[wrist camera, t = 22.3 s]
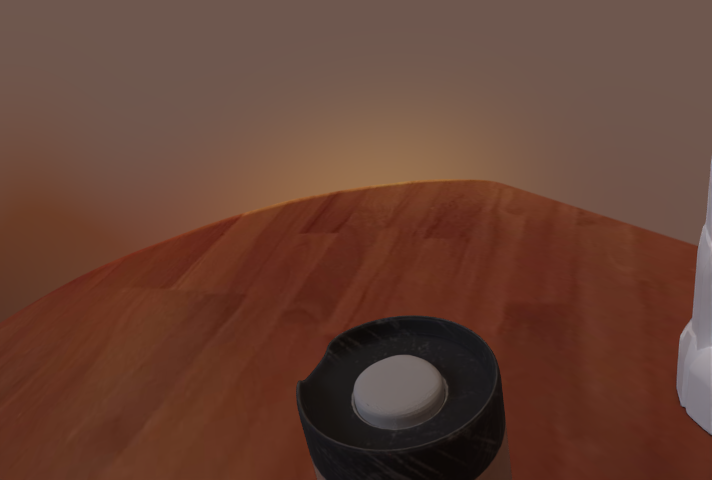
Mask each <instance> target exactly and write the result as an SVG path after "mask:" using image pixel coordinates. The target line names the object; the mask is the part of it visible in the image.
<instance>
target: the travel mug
mask: <svg viewBox="0 0 712 480" xmlns="http://www.w3.org/2000/svg"><path fill="white" fill-rule="evenodd" d="M296 397H297V406H298V411H299V415H300V419H301V423H302V427H303V430H304V434H305V437H306V441H307V444H308V448H309V452H310V455H311V458H312V462H313V466H314V469H315V473H316V477H317V480H512V475H511V466H510V457H509V448H508V439H507V429H506V420H505V411H504V402H503V393H502V383H501V375H500V370H499V366H498V363H497V360H496V358H495V355H494V353H493V351H492V350H491V349H490V347H489V346H488V344H487V343H486V342H485V341H484V340H483V339H482V338H481V337H480V336H479V335H477V334H476V333H474V332H473V331H472V330H470V329H468V328H466V327H464V326H462V325H460V324H457V323H455V322H452V321H449V320H445V319H441V318H436V317H429V316H396V317H389V318H383V319H379V320H375V321H371V322H367V323H364V324H362V325H359V326H356V327H354V328H351V329H349V330H347V331H345V332H343V333H341V334H340V335H338V336H337V337H335V338H334V339H333V340H332V341H331V342H330V343H329V345H328V347H327V350H326V353H325V355H324V357H323V358H322V360H321V361H320V363H319V364H318V365H317V367H316V368H315V369H314V370H313V372H312V373H311V374H310V375H309V376H308V377H307V378H306V379H305V380H303V381H300V380H299V381H298V383H297V388H296Z"/></svg>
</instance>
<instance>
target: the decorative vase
mask: <svg viewBox="0 0 712 480" xmlns="http://www.w3.org/2000/svg"><path fill="white" fill-rule="evenodd" d="M676 388H677V392H678V395H679V399H680V403H681V406H682V407H685V408H686V411H687V414H688V415H689V416H690V417H691V418H692V419H693V420H694V421H695V422H697V423H698V424H699V425H700V426H701V427H702V428H703V429H704V430H706V431H707V432H708V433H709V434H711V435H712V158H711V170H710V181H709V192H708V204H707V216H706V223H705V225H704V226H703V229H702V234H701V238H700V242H699V246H698V253H697V266H696V278H695V291H694V303H693V316H692V319H691V320H690V321H689V323H688V324H687V325H686V327H685V329H684V330H683V332H682V334H681V336H680V341H679V354H678V369H677V386H676Z"/></svg>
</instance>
